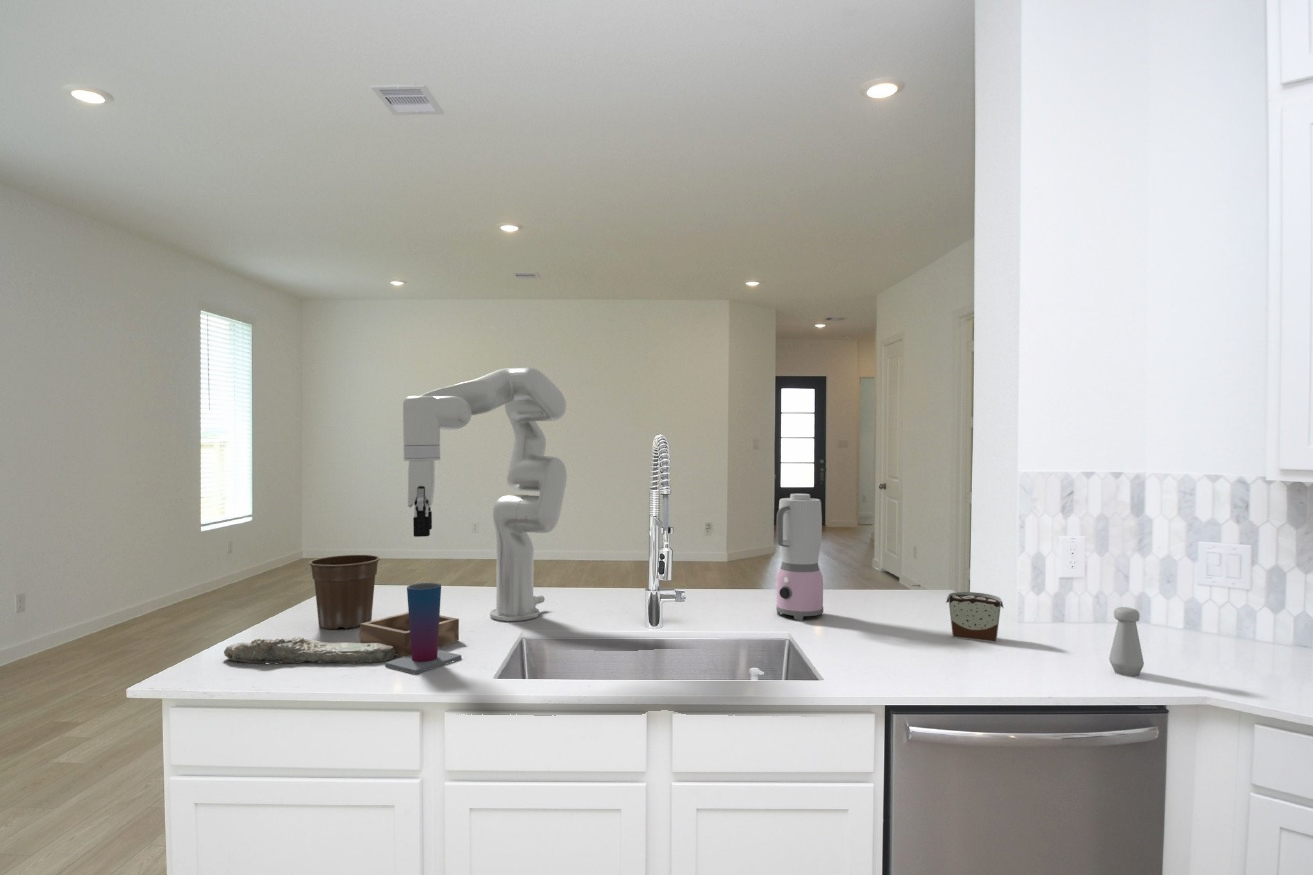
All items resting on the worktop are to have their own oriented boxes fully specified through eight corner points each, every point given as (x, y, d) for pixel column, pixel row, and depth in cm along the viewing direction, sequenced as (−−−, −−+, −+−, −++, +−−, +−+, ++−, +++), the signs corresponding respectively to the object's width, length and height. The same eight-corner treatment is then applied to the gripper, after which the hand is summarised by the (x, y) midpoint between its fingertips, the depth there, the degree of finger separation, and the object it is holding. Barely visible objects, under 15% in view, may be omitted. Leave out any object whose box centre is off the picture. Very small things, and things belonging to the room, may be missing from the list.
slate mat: (432, 652, 158) (432, 648, 158) (461, 658, 154) (461, 655, 154) (385, 666, 148) (385, 662, 148) (415, 674, 143) (415, 670, 143)
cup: (431, 664, 147) (431, 589, 147) (400, 662, 148) (400, 588, 148) (447, 654, 154) (447, 583, 154) (417, 652, 155) (417, 582, 155)
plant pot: (293, 628, 178) (293, 561, 178) (344, 613, 193) (345, 552, 193) (344, 635, 172) (345, 566, 172) (393, 619, 187) (393, 556, 187)
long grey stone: (384, 674, 149) (400, 662, 158) (386, 647, 149) (402, 637, 159) (211, 664, 148) (238, 652, 158) (213, 638, 149) (241, 628, 158)
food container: (1003, 636, 173) (1003, 594, 173) (1003, 643, 168) (1003, 599, 168) (947, 630, 178) (947, 589, 178) (945, 636, 173) (946, 594, 173)
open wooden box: (414, 631, 175) (414, 610, 175) (458, 640, 167) (458, 618, 167) (360, 646, 163) (360, 623, 163) (405, 657, 155) (405, 633, 155)
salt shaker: (1102, 668, 149) (1102, 605, 149) (1129, 668, 149) (1129, 604, 149) (1123, 678, 143) (1123, 611, 143) (1150, 677, 144) (1150, 611, 144)
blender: (795, 607, 202) (795, 491, 202) (833, 615, 193) (833, 494, 193) (758, 616, 192) (759, 494, 192) (796, 625, 183) (797, 497, 183)
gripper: (406, 452, 165) (407, 528, 165) (400, 455, 148) (401, 540, 148) (441, 451, 166) (442, 526, 167) (438, 455, 150) (439, 538, 150)
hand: (423, 532), depth 158 cm, fingers open, 9 cm apart
